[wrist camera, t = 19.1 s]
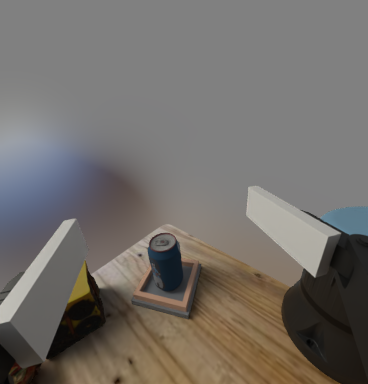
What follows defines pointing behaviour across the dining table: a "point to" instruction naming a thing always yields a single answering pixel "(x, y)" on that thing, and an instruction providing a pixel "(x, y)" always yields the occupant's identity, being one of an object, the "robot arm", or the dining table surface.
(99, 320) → the yellow black cube
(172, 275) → the soda can
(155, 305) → the coaster
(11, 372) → the red brown scaly oval
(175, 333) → the dining table surface
